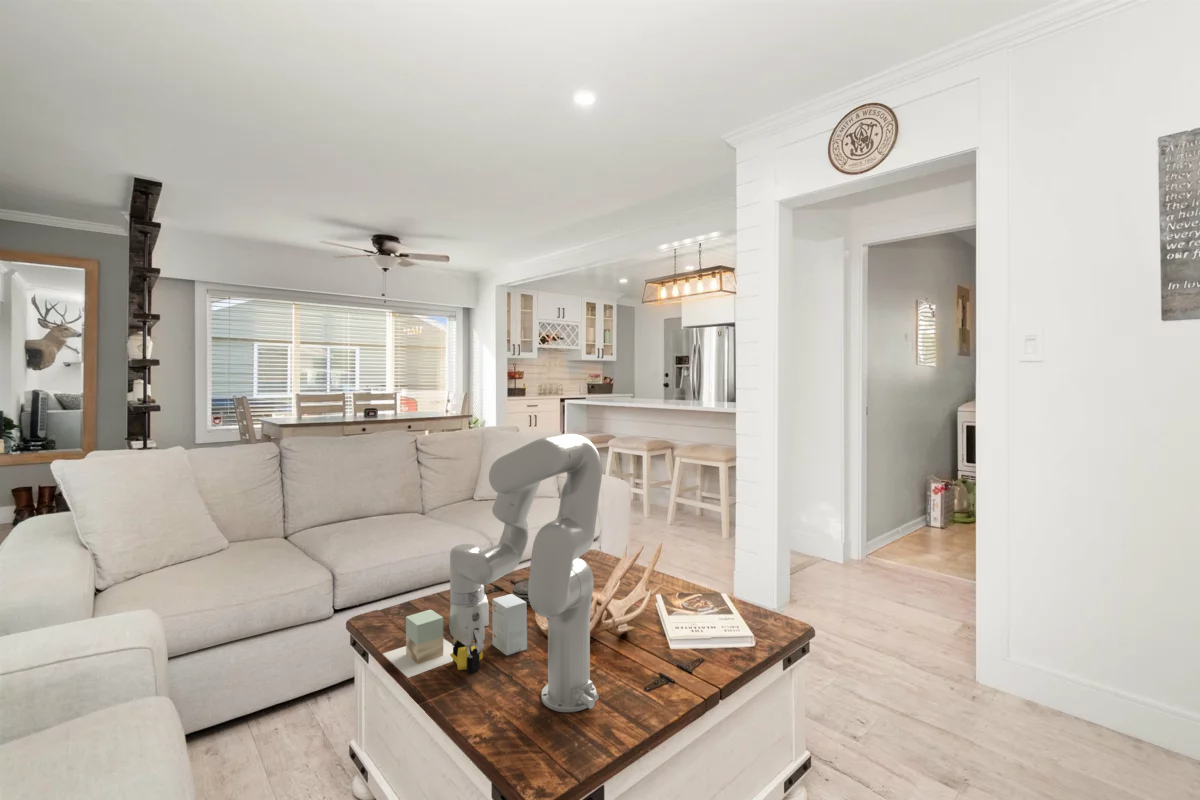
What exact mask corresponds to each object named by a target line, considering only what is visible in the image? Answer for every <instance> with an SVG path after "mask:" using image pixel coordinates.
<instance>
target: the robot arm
mask: <svg viewBox="0 0 1200 800" xmlns="http://www.w3.org/2000/svg"><path fill="white" fill-rule="evenodd" d="M565 473H566V479H565V482H564V484H563V487H562V489H561V493H560V501H559V509H558V514H557V516H556V518H555V519H554V520H552V521H549V522H547V523H546V524H544V525H542V527H541V528H540V529H539V530H538V532H537V533H536V536H535V538H534V541H533V545H532V549H531V556H530V557H531V558H530V566H529V574H528V582H527V583H528V585H527V597H528V601H529V604H530V607H531V608H532V610H533V611H534V612H535V613H536V614H537V616H540V617H542V618H547V680H548V681H547V683H546V685H544V687H543V688H542V690H541V696H540V698H541V702H542V703H543V705H544V706H545V707H547V708H548V709H550V710H552V711H555V712H560V713H577V712H580V711H583V710H585V709H590V710H591V709H593V708H594V706H595V705H596V701H598V700H599V698H600V694H598V692H597V688H596V687H595V685H594V684H593V680H591V673H590V672H591V668H590V667H591V662H590V661H591V644H590V642H591V641H590V640H591V606H592V600H593V592H594V575H593V571H592V569H591V567H590V565H589V564H588V562H586V561H585V560H583V559H582V558H581V557H582V556H583V555H584V554H586V553H587V552H588V551H589V550H591V548H592V546H593V544H594V540H595V532H596V523H597V515H598V508H599V497H600V491H601V486H602V478H603V477H602V476H603V466H602V459H601V457H600V453H599V451H598V449H597V448H596V447H595V445H594V443H592V442H591V441H590V439H588V438H586V437H584V435H580V434H577V433H561V434H557V435H552V436H546V437H541V438H537V439H536V440H534V441H533V440H532V441H530V442H529V443H527V444H525V445H523V446H521V447H518V448H516V449H515V450H513V451H511V452H508V453H506V454H504V455H502V456H500V457H499V458H497V459H496V460H495V461H494V462H493V463H492V465H491V467H490V469H489V473H488V482H489V484H490V487H491V488H492V490H493V491H495V492H496V493H497V495H496V498H495V500H494V502H493V505H492V509H491V511H492V515H494V517H495V518H496V519H497V520H498V521H499V522H501V523H503V524H504V527H503V531H502V533H501V536H500V539H499V542H498V543H497V544H496V545H494V546H491V547H489V548H488V549H485V550H481V548H480V546H478V545H476V544H473V543H465V544H464V543H463V544H459V545H455V546H454V547H453V548H451V550H450V552H449V553H450V554H449V580H450V581H449V586H450V587H449V590H450V593H449V594H450V595H449V598H450V599H449V603H450V609H449V611H450V612H449V626H448V629H449V634H450V636H451V639H452V642H451V644H452V645H453V646H455V647H453V654H454V655H455V656H457V654H458V648H461V647H467V652H468V657H467V669H466V674H472V673H475V672H477V671H479V670H480V660H479V655H480V654H481V651H482V650H483V651H484V648H485V645H484V642H485V640H486V639H485V638H486V631H485V630H486V629H485V626H484V615H483V608H482V603H481V585H485V586H486V585H489V584H492V583H494V582H495V581H498V580H499V579H500V578H502V577H504V576H506V575H507V574H510V573H512V572H513V571H515V569H516V568H517V567H518V566H519V563H520V562H521V561H522V557H523V555H524V553H525V550H526V547H527V544H528V541H529V525H528V521H527V518H528V517H529V513H530V510H531V507H532V506H533V502H534V500H535V497H536V494H537V491H538V489H539V487H540V483H541V482H543V481H545V480H547V479H549V478H552V477H556V476H558V475H562V474H565ZM471 646H475V649H473V651H472V650H471ZM452 662H453V663H455V664H456V662H455V661H454V660H453V661H452Z"/></svg>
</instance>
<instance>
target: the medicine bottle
mask: <svg viewBox="0 0 1200 800" xmlns="http://www.w3.org/2000/svg"><path fill="white" fill-rule="evenodd" d="M481 603H482V608H483V615H484V627H488V626H489V621H490V620H489V616H490V615H489V601H488V597H487V594H486V585H481Z"/></svg>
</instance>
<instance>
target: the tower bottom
mask: <svg viewBox="0 0 1200 800" xmlns="http://www.w3.org/2000/svg"><path fill="white" fill-rule="evenodd" d="M443 638H444V636H443V637H440V638H437V639H434V640H431V641H428V642H425V643H422V644H419V645H417V644H416V643H415V642H413V641H412V640H411V639H410V638H408V637H407V636H406V635H405V646H406V654H407V655H408V656H409V657H410V658H411V659H412V660H413V661H415V662H416V663H417V664H420V663H423V662H426V661H428V660H431V659H434V658H437V657H440V656H442V655H443Z"/></svg>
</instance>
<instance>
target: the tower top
mask: <svg viewBox="0 0 1200 800" xmlns="http://www.w3.org/2000/svg"><path fill="white" fill-rule="evenodd" d="M406 636H407V637H408V638H410V639H411V640H412V641H413V642H415V643H416V644H417V645H419V644H422V643H425V642H428V641H431V640H434V639H437V638H440V637H443V638H444V617H443V616H441V615H440V614H438V613H437V612H435V610H432V609H427V610H424V611H419V612H417V613H413V614H410V615H407V616H405V637H406Z"/></svg>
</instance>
